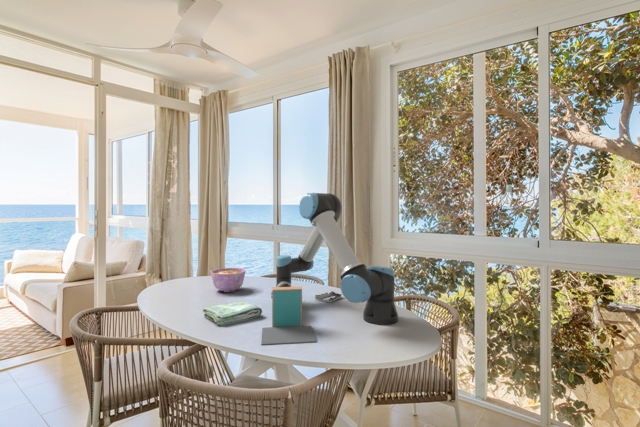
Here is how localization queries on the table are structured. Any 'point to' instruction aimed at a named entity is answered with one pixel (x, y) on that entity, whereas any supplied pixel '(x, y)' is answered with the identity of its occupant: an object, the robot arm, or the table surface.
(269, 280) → the table surface
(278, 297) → the terracotta slab
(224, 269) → the bowl of food
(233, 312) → the towel
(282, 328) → the charcoal mat
